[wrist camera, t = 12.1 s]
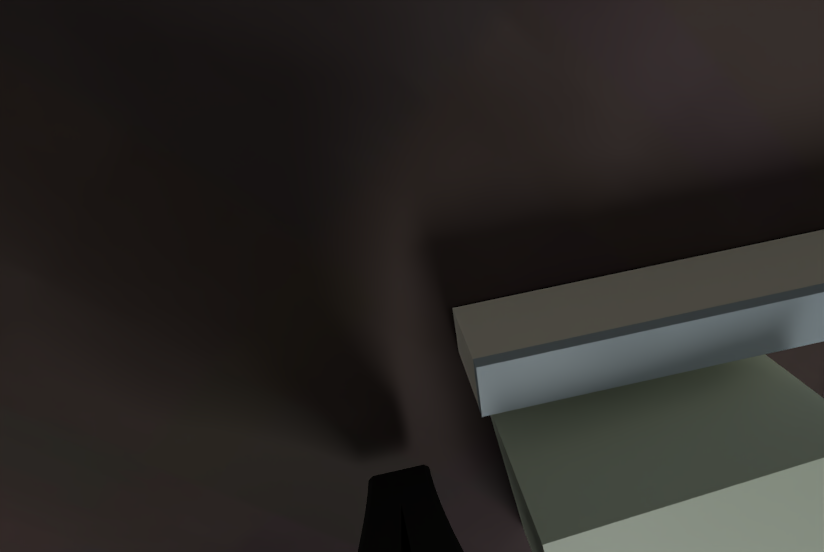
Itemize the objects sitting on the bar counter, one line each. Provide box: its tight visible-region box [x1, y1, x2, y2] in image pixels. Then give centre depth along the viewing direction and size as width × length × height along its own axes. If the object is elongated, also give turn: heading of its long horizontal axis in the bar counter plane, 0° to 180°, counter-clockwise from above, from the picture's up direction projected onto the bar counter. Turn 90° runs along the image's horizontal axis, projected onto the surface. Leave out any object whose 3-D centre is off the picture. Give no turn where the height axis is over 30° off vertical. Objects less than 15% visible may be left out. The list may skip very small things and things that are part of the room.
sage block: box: [490, 354, 824, 552], centre depth 11 cm, size 6×6×4 cm
